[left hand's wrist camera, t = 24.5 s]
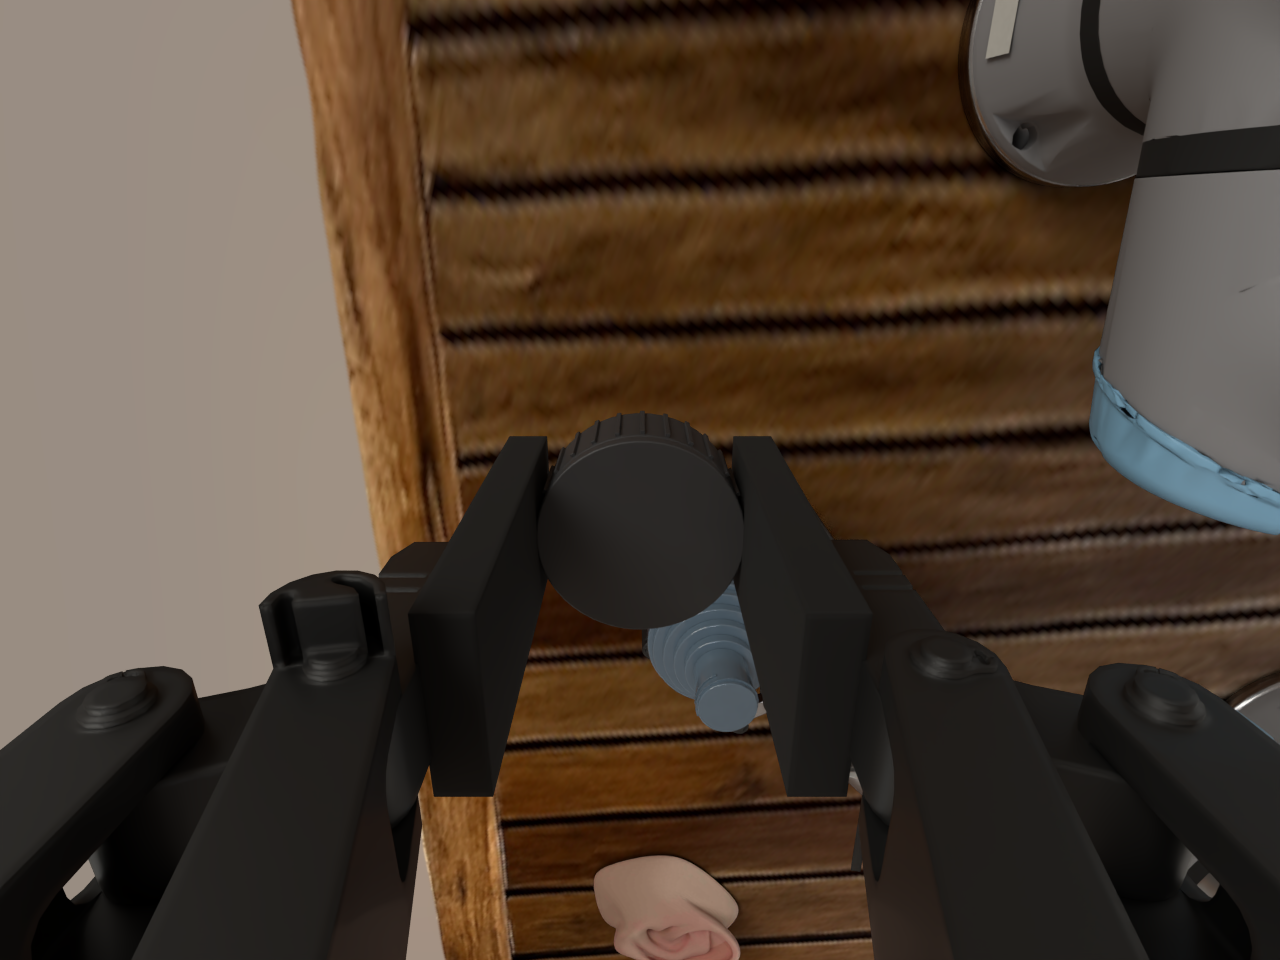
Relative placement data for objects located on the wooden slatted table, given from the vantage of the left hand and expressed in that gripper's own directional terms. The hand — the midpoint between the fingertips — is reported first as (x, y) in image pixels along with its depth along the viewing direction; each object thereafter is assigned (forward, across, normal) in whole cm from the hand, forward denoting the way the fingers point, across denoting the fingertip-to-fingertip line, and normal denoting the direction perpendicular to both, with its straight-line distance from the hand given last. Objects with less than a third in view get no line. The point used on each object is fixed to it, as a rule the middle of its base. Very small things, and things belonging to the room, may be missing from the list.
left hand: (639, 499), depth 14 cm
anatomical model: (+32, +2, -54) cm, 63 cm away
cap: (-2, 0, 0) cm, 2 cm away
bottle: (+32, +4, -14) cm, 36 cm away
